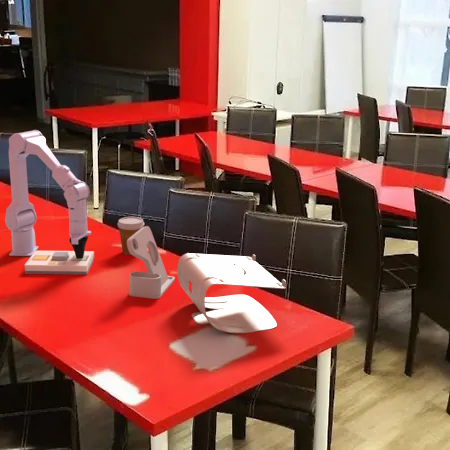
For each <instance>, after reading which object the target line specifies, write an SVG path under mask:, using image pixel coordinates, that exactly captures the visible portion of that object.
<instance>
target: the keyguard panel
mask: <svg viewBox="0 0 450 450" xmlns="http://www.w3.org/2000/svg"><path fill="white" fill-rule="evenodd" d="M55 252H68V259H67V261H52V256H53V254H54V253H55ZM35 255H49V258H48V260H47V261H43V260H32V259H33V258H34V257H35ZM74 256H75V252H74V250H36V251H35V252H34V253H33V255H32V256H29V259H28V260H27V261H26V262H25V264H24V274H25V275H27V274H28V275H34V274H35V275H88V274H89V272H90V269H91V268H92V265H93V263H94V261H95V251H91V250H90V251H89V250H88V251H87V250H85V251H84V256H88V259H87V261H72V259H73V257H74Z"/></svg>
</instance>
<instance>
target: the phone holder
mask: <svg viewBox="0 0 450 450" xmlns="http://www.w3.org/2000/svg"><path fill="white" fill-rule="evenodd" d="M127 247H128V250H129V252H130V254H131V255H130V256H133V257H135V258H137V259H138V260H139V259H140V260H141V261H143V263H144V265H145V268H146V271H147V272H144V271H133V272H131V273H129V276H128V277H129V291H128V295H129V296H131V297H137V298H138V297H139V298H143V299H144V298H146V299H154V300H155V299H160V298H161V297H162V296H163V295H164V294H165V292H167V290H168V289H169V288H170V286H171V285H172V284H173V283H174V282H175V279H176V277H175V276H173V275H168V274H167V271H166V267H165V266H164V262H163V260H162V257H161V254H160V252H159V250H158V246H157V243H156V241H155V238H154V235H153V232H152V230H151V228H150V226H149V225H146V226H145V225H144V226H143V227H142V228H141V229H140V230H138V231H137V232H136V233H135V234H134V235H132V236H131V237H130V238H129V239H128V240H127Z"/></svg>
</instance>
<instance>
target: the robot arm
mask: <svg viewBox="0 0 450 450" xmlns="http://www.w3.org/2000/svg"><path fill="white" fill-rule="evenodd" d="M46 142H47V140H46V137H45V136H44V135H43V133H41V131H39V130H37V129H33V130H29V131H24V132H18V133H17V132H15V133H13V134H12V135H11V136H9V138H8V144H9V145H8V146H9V147H8V162H9V177H10V179H9V180H10V189H11V191H10V192H11V203H10V204H9V205H8V207H7V208H6V210H5V211H6V213H5V217H4V222H5V225H6V227H7V228H8V230H9V231H10V233H11V235H10V236H11V246H12V247H11V248H12V249H11V252H9V254H8V255H9V256H11V257H19V256H20V257H31V256H32V255H33V253H34V252H35V251H38V249H39V246H38V245H36V244H37V243H36V233H35V229H34V227H35V224H36V222H37V219H38V217H37V213H36V210H35V206H34V204H33V203H31V202H30V200H29V199H30V198H29V188H28V173H27V172H28V171H27V157H28V156H29V155H34V156H37V157H38V158H39V159H40V160H41V161H42V162H43V163H44V164H45V165H46V166H47V167H48V169H50V171H51V177H52V178H53V180H55V182H56V183H57V185H59V186H60V188H61V189H62V191H64V192H63V197H64V199H65V200H66V205H67V207H68V220H69V221H68V222H69V223H68V224H69V232H68V234H69V237H70V238H69V244H70V245H71V247H72V249H73V251H74V252H75V255H76V258H81V259H82V258H83V257H84V251H86V245H87V242H88V239H89V236H91V234H92V231H91V230H88V214H87V213H88V211H87V210H88V209H87V198H89V196H90V195H91V191H90V187H89V186H88V183H86V182H84V181H83V180H82V181H81V180H80V179H78V178H77V177H76V176H75V174H74V173H73V172H72V171H71V168H70V167H69V166H67V165H66V164H61V163H60V162H59V160H58V159H57V158H56V156H55V155H54V153H53V152H52V150H51V149H50V148H49V147H48V144H47V143H46Z"/></svg>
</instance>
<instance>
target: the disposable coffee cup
mask: <svg viewBox="0 0 450 450" xmlns="http://www.w3.org/2000/svg"><path fill="white" fill-rule="evenodd" d="M117 227H118V231H119V236H120V237H119V238H120V243H121V248H122V249H121V250H122V254H124V255H127V256H132V255H131V254H130V252H129V250H128V247H127V240H128V239H129V238H130V237H131V236H132V235H134V234H135V233H136V232H137V231H138V230H140V229H141V228H142V227H145V222H144V219H143V218H141V217H137V216H127V217H126V216H125V217H122V218H120V219H118V222H117Z"/></svg>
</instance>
